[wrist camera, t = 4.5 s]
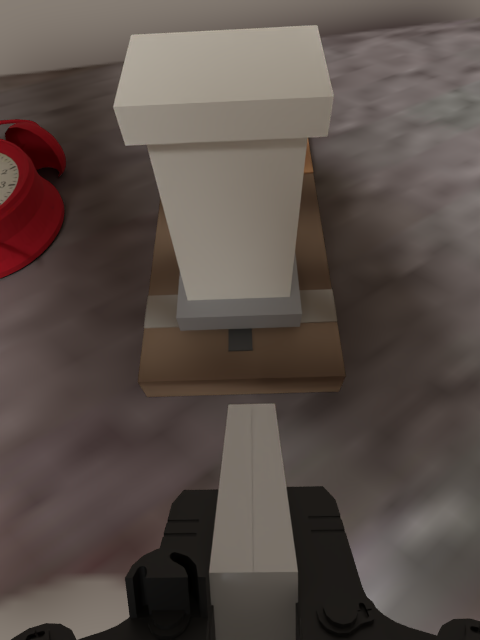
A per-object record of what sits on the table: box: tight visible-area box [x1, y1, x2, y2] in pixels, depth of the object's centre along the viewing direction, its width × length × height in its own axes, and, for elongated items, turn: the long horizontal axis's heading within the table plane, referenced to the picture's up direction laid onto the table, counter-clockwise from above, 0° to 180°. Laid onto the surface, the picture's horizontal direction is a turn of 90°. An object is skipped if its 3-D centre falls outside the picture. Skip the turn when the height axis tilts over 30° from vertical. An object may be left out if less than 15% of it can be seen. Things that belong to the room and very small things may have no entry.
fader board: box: [138, 139, 346, 397], centre depth 27 cm, size 24×10×2 cm, turn 1°
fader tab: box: [113, 25, 334, 331], centre depth 17 cm, size 5×6×11 cm
